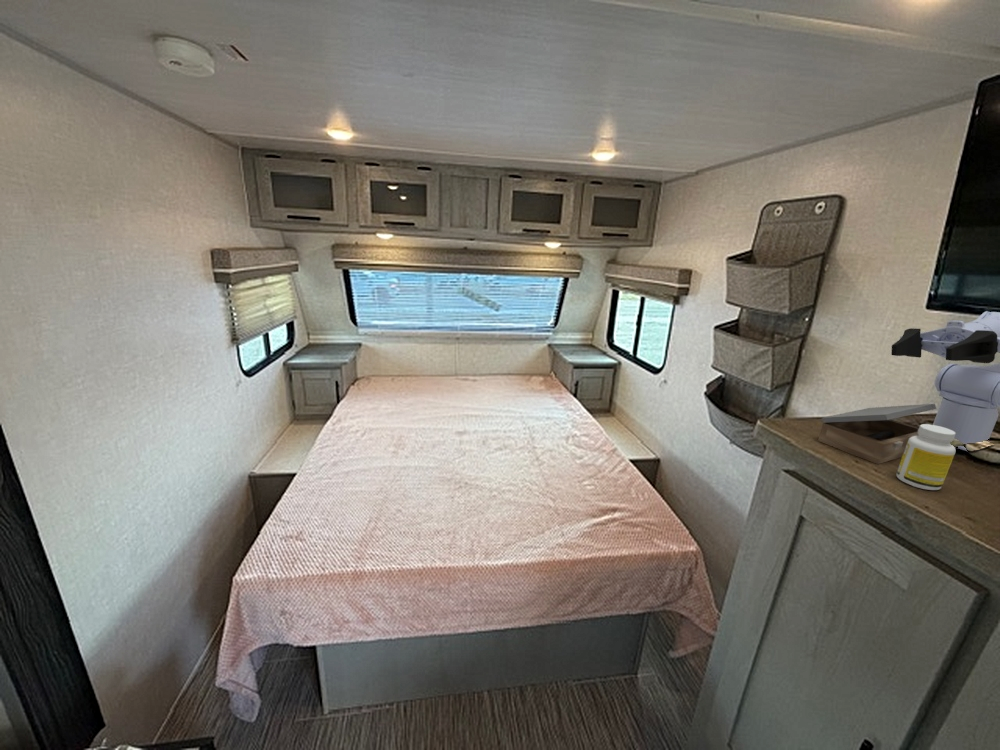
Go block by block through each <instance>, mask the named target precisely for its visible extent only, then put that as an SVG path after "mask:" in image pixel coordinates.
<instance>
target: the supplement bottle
mask: <svg viewBox="0 0 1000 750" xmlns="http://www.w3.org/2000/svg"><path fill="white" fill-rule="evenodd" d="M918 428H919V429H918V432H917V433H918V434H919V435H918V436H912V437H910V438H909V440H908V442H907V445H906V448H905V451H904V453H903V456H902V457H901V458H900V459H901V460H900V462H899V464H898V465H899V466H898V468H897V470H896V474H895V475H896V477H897V479H898V480H900V481H901V482H903V483H905V484H907V485H910V486H911V487H914V488H919V489H921V490H922V489H923V490H929V491H938V490H941V489H942V487H943V485H944V483H945V480H946V477H947V476H948V473H949V470H950V468H951V465H952V462H953V460H954V458H955V456H956V455H955V454H956V453H957V452H956V449H957V448H956V447H954V446H953V445H951V444H950V442H952V441H953V440H954V437H955V434H956V433H955V432H954V431H952V430H950V429H947V428H944V427H940V426H936V425H933V424H929V423H923V424H920V425H919V426H918Z"/></svg>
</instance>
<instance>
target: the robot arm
mask: <svg viewBox="0 0 1000 750" xmlns="http://www.w3.org/2000/svg"><path fill="white" fill-rule="evenodd" d="M922 350H923V351H925V352H928V353H931V354H932V355H937V356H940V357H942V358H945V360H946V361H950V362H951V361H953V362H954V361H955V362H958V361H959V362H960V361H961V362H962V361H969V362H972V363H977V364H978V363H979V364H990V363H993V362H994V360H995V358H996V354H997V353H998V354H1000V312H999V311H998V312H997V311H991V312H990V311H988V310H986V311H984V312H982V314H980V315H979V316H978V317H977V318H976V319H974V320H971V321H969V322H965V321H963V320H949V321H947V322H946V326H945V327H942V328H937V329H933V330H929V331H928V330H927V331H925V332H922V331H921V328H911V327H910V328H907V329H904V332H903V335H901V336H900V337H899V339H898V340H897V341H896V342H894V343H893V344H892V345H891V353H890V355H891V356H894V357H895V356H896V357H901V356H904V357H905V356H906V357H909V358H910V357H911V358H919V359H920V358H922ZM934 386H935V390H937V392H938V393H939V394H938V396H939V397H942V399H941V401H940V404H939V407H938V409H937V413H936V416H935V418H934V420H933V423H932V425H936V426H940V427H944V428H947V429H950V430H952V431H954V432H955V433H956V434H955V437H954V438H955V439H957V440H959V441H961V442H962V443H963V444H967V443H976V442H983V440H988V439H989V440H990V438H991V435H992V433H993V431H994V428H995V425H996V423H997V420H998V418H999V411H998V408H1000V362H999V363H995V364H990V365H986V366H985V365H984V366H983V365H973V364H963V365H961V364H959V363H949V364H947V365H945V366H944V367H942V368H941V369H940V370H939V371H938V373H937V374H936V377H935V380H934ZM989 440H988V441H989ZM957 449H960V450H962V451H966V452H968V451H967V450H966V448H965V447H964V446H958V448H957Z"/></svg>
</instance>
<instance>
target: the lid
mask: <svg viewBox="0 0 1000 750" xmlns="http://www.w3.org/2000/svg"><path fill="white" fill-rule="evenodd" d="M936 409H937V407H936V404H935V403H926V404H925V403H923V404H912V405H911V404H910V405H895V406H894V405H893V406H878V407H877V406H876V407H869V408H868V407H866V408H862V409H856V410H853V411H848V412H842V413H838V414H832V415H828V416H823V417H821V422H822V424H823V423H826V422H851V421H877V420H890V419H891V420H895V419H898V418H902V417H908V416H911V415H915V414H920V413H924V412H929V411H933V410H936Z"/></svg>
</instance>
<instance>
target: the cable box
mask: <svg viewBox="0 0 1000 750" xmlns="http://www.w3.org/2000/svg"><path fill="white" fill-rule="evenodd" d="M918 429H919V426H918V427H917V426H915V425H910V424H908V423H904V422H901V421H897V420H895V419H890V420H877V421H851V422H826V423H823V422H822V426H821V429H820V432H819V436H818V439H817V440H818V442H820V443H823V444H825V445H828V446H830V447H832V446H833V447H832V448H834V449H837V448H838V450H841V451H843V452H845V453H848V454H851V455H853V456H856V457H857V458H860V459H862V460H863V459H864V460H866V461H869V462H871V463H874V464H876V465H880V464H883V463H887V462H889V461H893V460H897V459H899V458H900V459H901V458H902V456H903V453H904V451H905V448H906V445H907V442H908V440H909V438H910V437H912V436H918V435H919V434H918V433H917V432H918Z"/></svg>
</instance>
